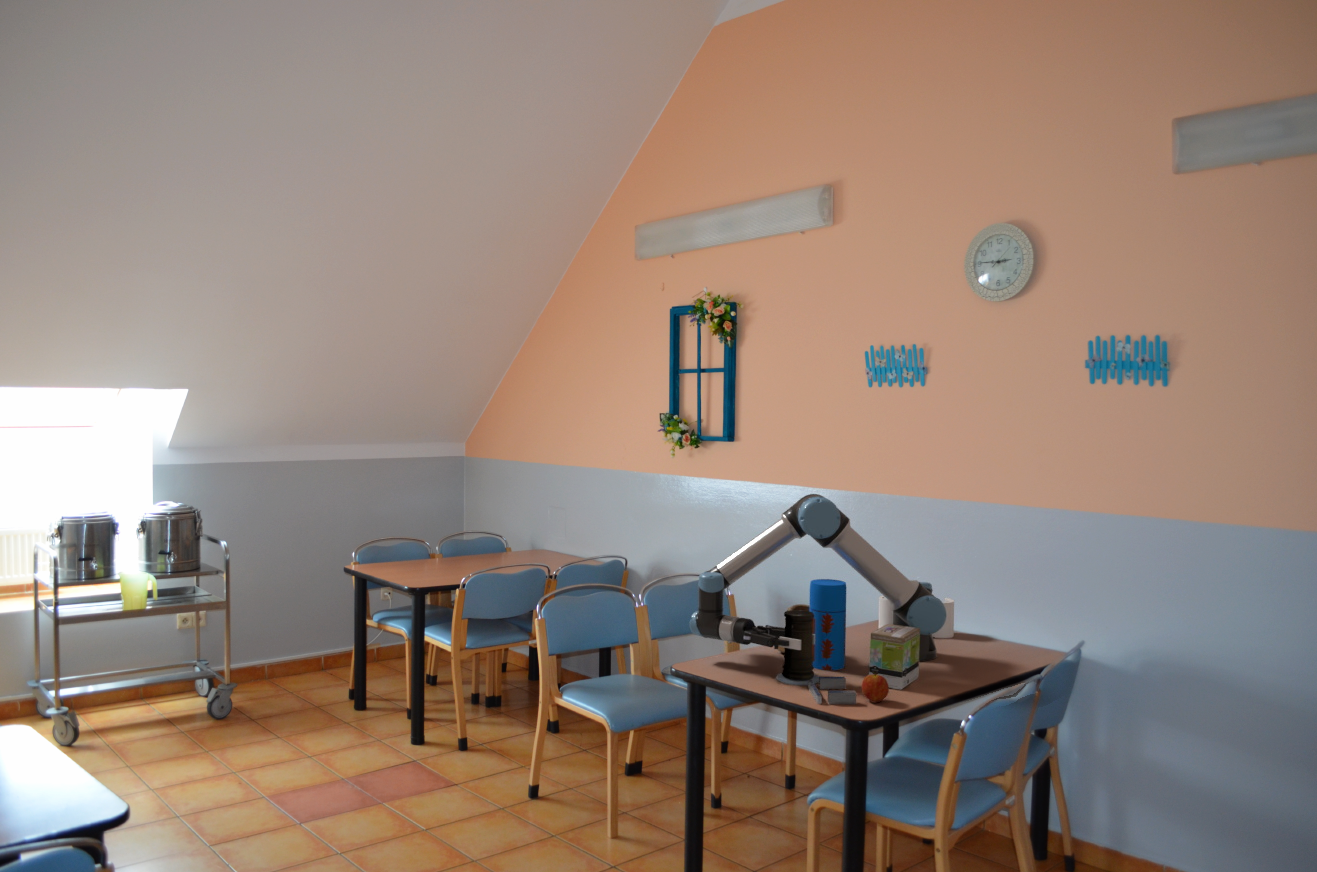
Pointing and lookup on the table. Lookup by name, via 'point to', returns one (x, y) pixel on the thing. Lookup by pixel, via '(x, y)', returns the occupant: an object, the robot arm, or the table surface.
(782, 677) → the mat
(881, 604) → the bracket
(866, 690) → the fruit
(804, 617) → the container
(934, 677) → the table surface
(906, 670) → the tea box
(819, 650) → the thermos
